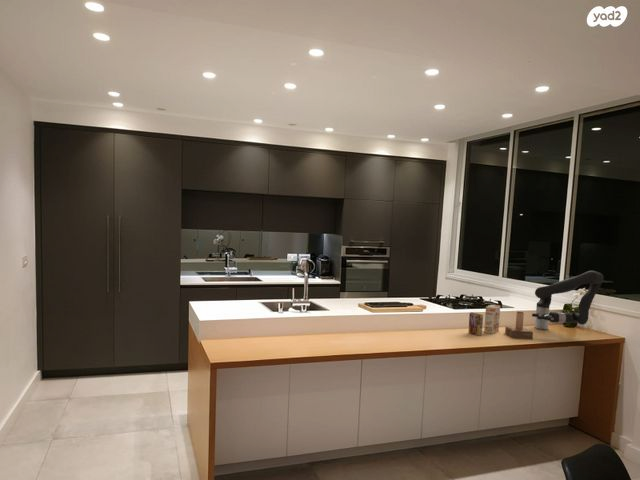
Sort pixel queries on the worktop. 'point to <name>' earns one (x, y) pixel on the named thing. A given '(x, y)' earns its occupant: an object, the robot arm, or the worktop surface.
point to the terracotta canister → (519, 320)
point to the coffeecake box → (492, 319)
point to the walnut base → (519, 333)
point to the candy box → (475, 323)
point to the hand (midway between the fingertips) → (534, 316)
